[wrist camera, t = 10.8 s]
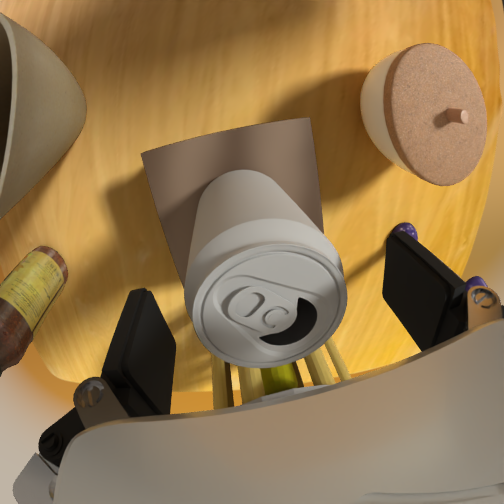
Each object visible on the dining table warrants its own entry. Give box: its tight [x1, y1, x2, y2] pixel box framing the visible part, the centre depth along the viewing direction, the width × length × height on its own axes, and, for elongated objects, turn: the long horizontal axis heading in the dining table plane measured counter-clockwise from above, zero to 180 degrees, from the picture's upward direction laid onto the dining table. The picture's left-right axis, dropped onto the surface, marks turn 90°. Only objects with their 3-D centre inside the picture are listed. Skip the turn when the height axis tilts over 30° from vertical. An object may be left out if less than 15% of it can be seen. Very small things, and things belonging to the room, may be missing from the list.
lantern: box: [211, 337, 352, 410], centre depth 22 cm, size 14×14×25 cm
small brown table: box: [141, 117, 324, 288], centre depth 23 cm, size 12×12×7 cm
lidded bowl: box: [360, 43, 487, 186], centre depth 19 cm, size 13×13×11 cm
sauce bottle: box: [0, 246, 68, 377], centre depth 18 cm, size 6×6×20 cm
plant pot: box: [0, 13, 86, 219], centre depth 13 cm, size 15×15×16 cm
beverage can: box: [184, 170, 347, 368], centre depth 15 cm, size 6×6×12 cm
